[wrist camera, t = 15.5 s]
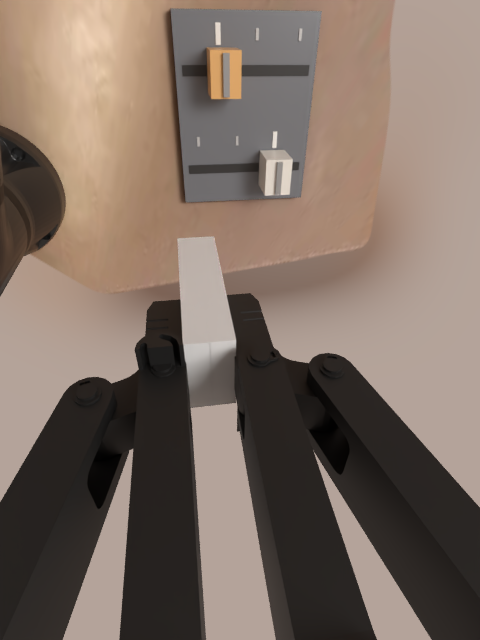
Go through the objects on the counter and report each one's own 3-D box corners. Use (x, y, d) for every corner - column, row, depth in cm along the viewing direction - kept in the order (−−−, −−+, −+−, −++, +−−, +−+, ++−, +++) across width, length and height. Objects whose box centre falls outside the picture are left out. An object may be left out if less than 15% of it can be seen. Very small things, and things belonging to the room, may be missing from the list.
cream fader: (258, 184, 48) (265, 196, 45) (259, 150, 46) (267, 161, 42) (281, 183, 49) (290, 195, 45) (284, 149, 46) (293, 160, 43)
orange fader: (207, 92, 41) (211, 99, 38) (206, 47, 39) (210, 50, 35) (235, 92, 42) (241, 99, 38) (235, 47, 39) (242, 50, 36)
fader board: (185, 198, 49) (185, 202, 48) (170, 8, 38) (170, 8, 37) (298, 193, 51) (300, 197, 50) (317, 11, 39) (321, 11, 38)
